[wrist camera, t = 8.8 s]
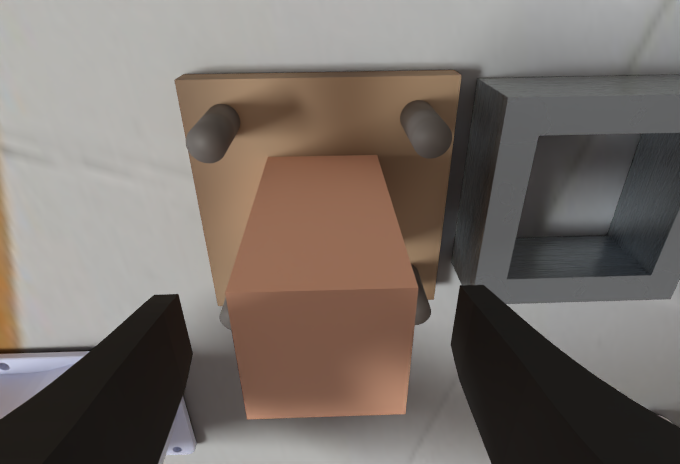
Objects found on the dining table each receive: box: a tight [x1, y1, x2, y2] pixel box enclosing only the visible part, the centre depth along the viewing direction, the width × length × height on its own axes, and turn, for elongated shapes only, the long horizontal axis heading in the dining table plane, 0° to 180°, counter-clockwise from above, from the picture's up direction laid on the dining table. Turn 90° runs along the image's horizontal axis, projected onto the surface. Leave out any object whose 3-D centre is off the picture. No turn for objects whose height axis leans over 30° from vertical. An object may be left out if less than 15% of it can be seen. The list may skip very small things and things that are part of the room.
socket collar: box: [451, 75, 680, 304], centre depth 17 cm, size 8×8×3 cm
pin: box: [225, 155, 418, 419], centre depth 13 cm, size 4×4×8 cm
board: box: [175, 70, 461, 330], centre depth 16 cm, size 10×10×4 cm
